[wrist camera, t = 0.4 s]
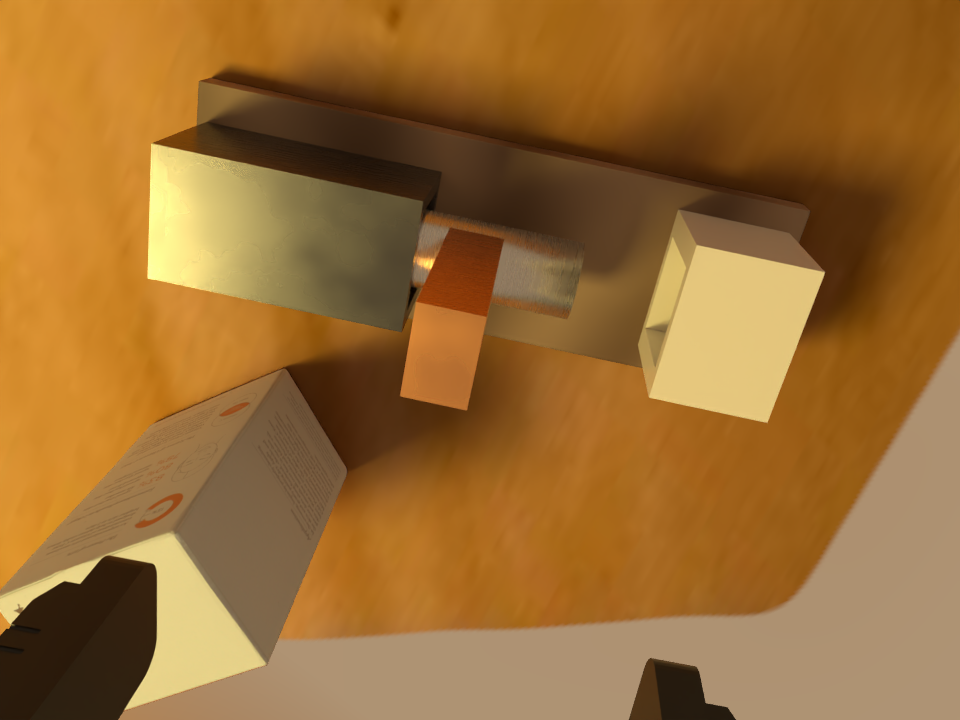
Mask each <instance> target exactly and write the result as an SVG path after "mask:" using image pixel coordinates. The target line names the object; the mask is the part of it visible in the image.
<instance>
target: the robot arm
mask: <svg viewBox="0 0 960 720" xmlns="http://www.w3.org/2000/svg"><path fill="white" fill-rule="evenodd" d="M156 641H157V570H156V567H155V565H154V564H152V563H148V562H142V561H137V560H132V559H126V558H121V557H116V556H110V555H107V556H105V557H103V558H102V559H101V560H100V561H99V562H98V563H97V564H96V566H95V567H94V568H93V569H92V570H91V572H90V573H89V574H88V575H87V576H86V578H85V579H84V580H83V581H82V582H81V583H80V584H78V583H73V582H67V581H63V582H62V583H60V584H58V585H57V586H55V587H53V588H52V589H50V590H48V591H46V592H45V593H43V594H41V595H40V596H38V597H36V598H35V599H33V600H32V601H31V602H30V603H29V604H28V605H27V607H26V608H25V609H24V610H23V611H22V612H21V613H20V614H19V615H18V617H17V618H16V619H15V620H14V621H13V622H12V623H11V626H10V628H9V629H6V630H5V631H4V632H3V633H2V634H1V635H0V720H118V719H119V718H120V716H121V714H122V713H123V711H124V710H125V708H126V706H127V705H128V703H129V702H130V700H131V698H132V697H133V695H134V694H135V692H136V690H137V689H138V687H139V686H140V684H141V682H142V681H143V679H144V677H145V676H146V674H147V672H148V669H149V667H150V665H151V662H152V659H153V656H154V652H155V647H156ZM629 720H736V719H735V718H734V716H733V715H732V713H731V712H730V711H729V709H728V708H727V707H722V706H717V705H712V704H706V703H705V698H704V693H703V688H702V683H701V678H700V674H699V671H698V669H697V667H695V666H690V665H685V664H679V663H674V662H669V661H663V660H657V659H652V658H650V659H649V660H648V661H647V663H646V665H645V668H644V671H643V675H642V678H641V681H640V685H639V688H638V691H637V695H636V698H635V701H634V704H633V708H632V711H631V714H630V718H629Z"/></svg>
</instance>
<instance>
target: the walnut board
mask: <svg viewBox="0 0 960 720" xmlns="http://www.w3.org/2000/svg"><path fill="white" fill-rule="evenodd" d="M205 122H210V123H215V124H220V125H224V126H229V127H234V128H239V129H243V130H248V131H253V132H257V133H262V134H267V135H271V136H276V137H281V138H286V139H290V140H295V141H300V142H304V143H309V144H314V145H318V146H323V147H328V148H332V149H337V150H342V151H347V152H351V153H356V154H361V155H365V156H370V157H375V158H379V159H384V160H389V161H394V162H398V163H403V164H408V165H412V166H417V167H422V168H426V169H431V170H436V171H440V172H442V174H441V180H440V186H439V191H438V197H437V203H436V209H435V211H436V212H441V213H446V214H450V215H455V216H460V217H465V218H469V219H474V220H479V221H483V222H488V223H493V224H497V225H502V226H507V227H511V228H516V229H521V230H526V231H530V232H535V233H540V234H544V235H549V236H554V237H558V238H563V239H568V240H573V241H577V242H582V243H584V256H583V263H582V268H581V273H580V278H579V283H578V287H577V291H576V295H575V299H574V302H573V306H572V309H571V312H570V315H569V317H568V319H567V320H566V319H561V318H557V317H552V316H547V315H543V314H538V313H533V312H529V311H524V310H519V309H514V308H510V307H505V306H500V305H496V304H491V303H490V308H489V313H488V318H487V322H486V327H485V331H484V334H485V335H490V336H495V337H499V338H504V339H509V340H513V341H518V342H523V343H527V344H532V345H537V346H541V347H546V348H551V349H555V350H560V351H565V352H570V353H574V354H579V355H584V356H588V357H593V358H598V359H602V360H607V361H612V362H616V363H621V364H626V365H631V366H635V367H640V368H643V367H642V362H641V357H640V353H639V348H638V343H639V340H640V336H641V333H642V330H643V326H644V323H645V319H646V316H647V313H648V309H649V306H650V303H651V299H652V296H653V293H654V289H655V286H656V283H657V279H658V276H659V272H660V269H661V266H662V262H663V259H664V256H665V252H666V249H667V246H668V242H669V239H670V236H671V232H672V229H673V225H674V222H675V219H676V215H677V212H678V209H679V210H684V211H689V212H693V213H698V214H703V215H707V216H712V217H717V218H721V219H726V220H731V221H736V222H740V223H745V224H750V225H754V226H759V227H764V228H768V229H773V230H778V231H783V232H787V233H790V234H791V235H792V236H793V238H794V239H795V240H796V241H797V242H798V243H799V242H800V239H801V236H802V233H803V231H804V228H805V225H806V222H807V220H808V217H809V214H810V210H809V209H808V208H806V207H805V206H804V205H803V204H800V203H796V202H791V201H786V200H782V199H777V198H772V197H768V196H763V195H758V194H753V193H749V192H744V191H739V190H735V189H730V188H725V187H721V186H716V185H711V184H706V183H702V182H697V181H692V180H688V179H683V178H678V177H674V176H669V175H664V174H659V173H655V172H650V171H645V170H641V169H636V168H631V167H627V166H622V165H617V164H612V163H608V162H603V161H598V160H594V159H589V158H584V157H580V156H575V155H570V154H566V153H561V152H556V151H551V150H547V149H542V148H537V147H533V146H528V145H523V144H519V143H514V142H509V141H504V140H500V139H495V138H490V137H486V136H481V135H476V134H472V133H467V132H462V131H457V130H453V129H448V128H443V127H439V126H434V125H429V124H425V123H420V122H415V121H411V120H406V119H401V118H396V117H392V116H387V115H382V114H378V113H373V112H368V111H364V110H359V109H354V108H349V107H345V106H340V105H335V104H331V103H326V102H321V101H317V100H312V99H307V98H302V97H298V96H293V95H288V94H284V93H279V92H274V91H270V90H265V89H260V88H255V87H251V86H246V85H241V84H237V83H232V82H227V81H223V80H218V79H213V78H208V79H205V80H201V81H199V89H198V110H197V125H200V124H202V123H205ZM421 290H422V289H421ZM420 292H421V291H420ZM419 294H420V293H419ZM418 297H419V295H418ZM418 297H417V299H418ZM417 299H416V301H417ZM416 301H415V304H414V306H413V308H412V310H411V312H410V315H409V317H408V318H410V319H413V317H414V311H415V305H416Z"/></svg>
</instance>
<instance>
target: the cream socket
mask: <svg viewBox="0 0 960 720" xmlns="http://www.w3.org/2000/svg"><path fill="white" fill-rule="evenodd" d="M824 274H825V272H824V271H823V269H822V268H821V267H820V266H819V265H818V264H817V263H816V262H815V261H814V260H813V258H812V257H811V256H810V255H809V254H808V253H807V252H806V251H805V250H804V249H803V247H802V246H801V245H800V244H799V243H798V242H797V241H796V240H795V239H794V238H793V236H792V235H791V234H790V233H787V232H783V231H778V230H773V229H768V228H764V227H759V226H754V225H750V224H745V223H740V222H736V221H731V220H726V219H721V218H717V217H712V216H707V215H703V214H698V213H693V212H689V211H684V210H679V209H678V212H677V215H676V219H675V222H674V225H673V229H672V232H671V236H670V239H669V242H668V246H667V249H666V252H665V256H664V259H663V262H662V266H661V269H660V272H659V276H658V279H657V283H656V286H655V289H654V293H653V296H652V299H651V303H650V306H649V309H648V313H647V316H646V319H645V323H644V326H643V330H642V333H641V336H640V340H639V343H638V348H639V353H640V357H641V362H642V367H643V372H644V376H645V381H646V386H647V391H648V395H649V398H654V399H658V400H663V401H668V402H673V403H677V404H682V405H687V406H691V407H696V408H701V409H705V410H710V411H715V412H719V413H724V414H729V415H734V416H738V417H743V418H748V419H752V420H757V421H762V422H766V423H767V422H768V419H769V417H770V414H771V412H772V409H773V406H774V404H775V401H776V399H777V396H778V393H779V391H780V388H781V386H782V383H783V380H784V378H785V375H786V373H787V370H788V367H789V365H790V362H791V360H792V357H793V355H794V352H795V349H796V347H797V344H798V342H799V339H800V336H801V334H802V331H803V329H804V326H805V323H806V321H807V318H808V316H809V313H810V310H811V308H812V305H813V303H814V300H815V298H816V295H817V292H818V290H819V287H820V285H821V282H822V279H823V277H824Z"/></svg>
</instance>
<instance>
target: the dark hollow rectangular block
mask: <svg viewBox="0 0 960 720" xmlns="http://www.w3.org/2000/svg"><path fill="white" fill-rule="evenodd" d="M441 174H442V172H440V171H436V170H431V169H426V168H422V167H417V166H412V165H408V164H403V163H398V162H394V161H389V160H384V159H379V158H375V157H370V156H365V155H361V154H356V153H351V152H347V151H342V150H337V149H332V148H328V147H323V146H318V145H314V144H309V143H304V142H300V141H295V140H290V139H286V138H281V137H276V136H271V135H267V134H262V133H257V132H253V131H248V130H243V129H239V128H234V127H229V126H224V125H220V124H215V123H210V122H205V123H202V124H200V125H197V126H195V127H192V128H190V129H187V130H184V131H182V132H179V133H177V134H174V135H172V136H169V137H167V138H164V139H162V140H159V141H156V142H154V143H151V178H150V215H149V253H148V278H150V279H155V280H159V281H164V282H169V283H173V284H178V285H183V286H187V287H192V288H197V289H201V290H206V291H211V292H215V293H220V294H225V295H230V296H234V297H239V298H244V299H248V300H253V301H258V302H262V303H267V304H272V305H276V306H281V307H286V308H291V309H295V310H300V311H305V312H309V313H314V314H319V315H323V316H328V317H333V318H337V319H342V320H347V321H352V322H356V323H361V324H366V325H370V326H375V327H380V328H384V329H389V330H394V331H398V332H402V330H403V328H404V325H405V323H406V321H407V319H408V317H409V315H410V312H411V310H412V308H413V306H414V304H415V301H416V299H417V297H418V295H419V293H420V291H421V288H416V287H411V283H412V277H413V271H414V265H415V259H416V253H417V247H418V241H419V235H420V229H421V223H422V217H423V213H424V211H425V210H426V209H427V210H432V211H435V209H436V203H437V197H438V191H439V186H440V180H441Z"/></svg>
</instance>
